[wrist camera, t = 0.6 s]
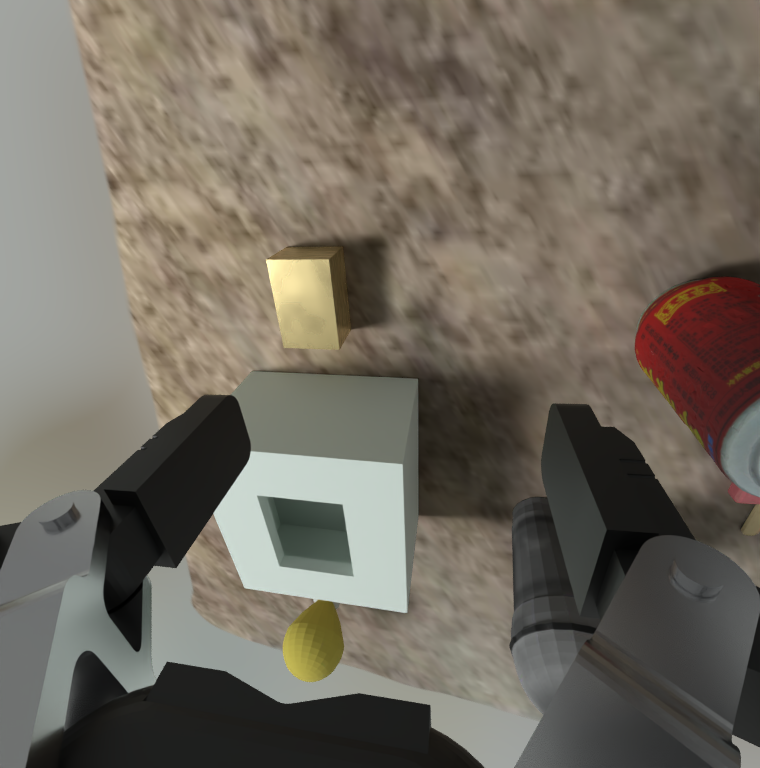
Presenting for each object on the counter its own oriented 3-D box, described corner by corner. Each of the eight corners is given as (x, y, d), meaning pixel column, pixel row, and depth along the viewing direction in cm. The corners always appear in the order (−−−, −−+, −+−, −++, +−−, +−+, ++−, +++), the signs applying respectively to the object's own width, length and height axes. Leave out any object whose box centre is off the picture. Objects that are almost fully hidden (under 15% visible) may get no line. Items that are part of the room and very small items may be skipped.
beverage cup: (512, 477, 34) (561, 806, 17) (596, 498, 33) (730, 856, 17) (486, 528, 38) (506, 835, 21) (561, 547, 37) (640, 875, 21)
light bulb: (366, 598, 49) (346, 694, 40) (322, 603, 51) (295, 693, 43) (340, 566, 46) (312, 662, 37) (295, 573, 48) (260, 663, 40)
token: (287, 246, 27) (266, 259, 24) (343, 245, 26) (328, 259, 23) (301, 327, 30) (283, 347, 27) (351, 328, 29) (339, 349, 26)
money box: (251, 371, 33) (184, 445, 25) (418, 378, 30) (402, 464, 22) (286, 501, 41) (244, 588, 33) (418, 515, 39) (407, 613, 31)
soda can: (782, 318, 23) (1029, 458, 13) (667, 389, 27) (790, 541, 17) (712, 240, 22) (927, 330, 12) (600, 326, 26) (689, 452, 15)
